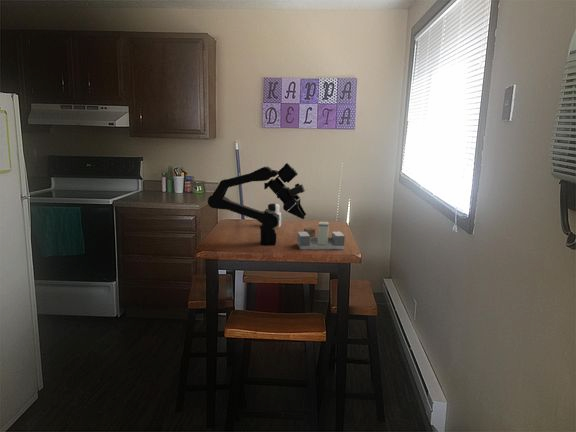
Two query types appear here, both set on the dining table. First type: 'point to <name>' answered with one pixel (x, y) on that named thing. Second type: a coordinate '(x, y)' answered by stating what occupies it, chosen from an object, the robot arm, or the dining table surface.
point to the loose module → (323, 233)
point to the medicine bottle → (275, 208)
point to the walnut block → (310, 231)
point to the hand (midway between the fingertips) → (304, 216)
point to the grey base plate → (315, 244)
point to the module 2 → (338, 238)
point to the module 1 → (303, 239)
